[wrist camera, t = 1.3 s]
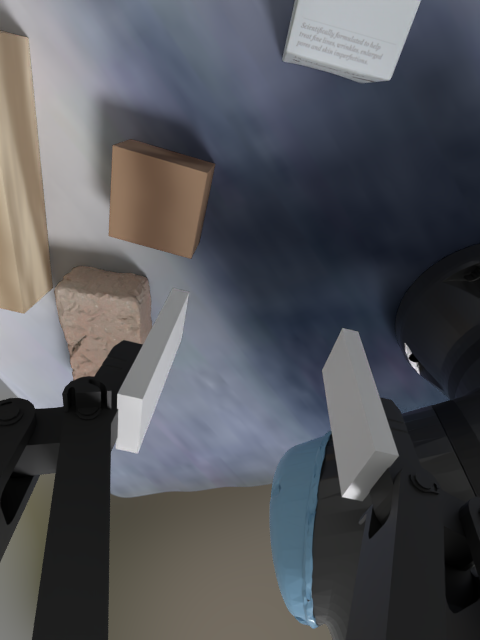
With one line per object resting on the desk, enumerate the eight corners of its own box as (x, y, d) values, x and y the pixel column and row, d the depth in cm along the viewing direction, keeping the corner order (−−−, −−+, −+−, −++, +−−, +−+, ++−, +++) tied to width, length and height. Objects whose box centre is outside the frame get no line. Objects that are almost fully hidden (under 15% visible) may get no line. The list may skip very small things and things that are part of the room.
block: (215, 163, 29) (207, 173, 25) (199, 241, 33) (191, 258, 29) (132, 138, 28) (112, 145, 25) (126, 220, 32) (108, 236, 29)
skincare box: (280, 62, 25) (281, 54, 18) (308, -60, 21) (321, -119, 15) (363, 84, 25) (391, 83, 19) (403, -33, 21) (454, -81, 15)
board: (28, 37, 25) (-22, 27, 21) (52, 288, 37) (24, 313, 33) (-14, 26, 25) (-73, 14, 21) (24, 281, 37) (-9, 306, 32)
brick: (70, 263, 35) (44, 286, 31) (152, 273, 35) (136, 297, 31) (94, 381, 45) (77, 410, 41) (159, 390, 44) (147, 419, 41)
